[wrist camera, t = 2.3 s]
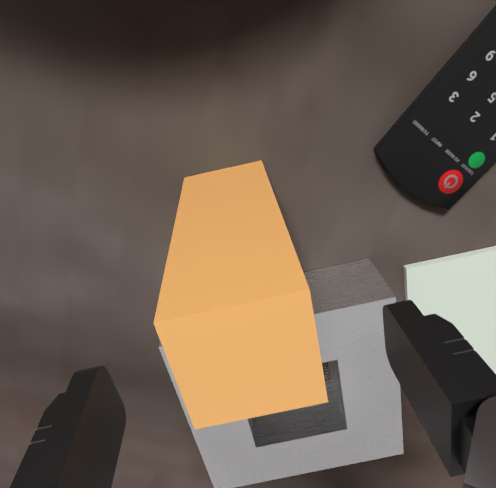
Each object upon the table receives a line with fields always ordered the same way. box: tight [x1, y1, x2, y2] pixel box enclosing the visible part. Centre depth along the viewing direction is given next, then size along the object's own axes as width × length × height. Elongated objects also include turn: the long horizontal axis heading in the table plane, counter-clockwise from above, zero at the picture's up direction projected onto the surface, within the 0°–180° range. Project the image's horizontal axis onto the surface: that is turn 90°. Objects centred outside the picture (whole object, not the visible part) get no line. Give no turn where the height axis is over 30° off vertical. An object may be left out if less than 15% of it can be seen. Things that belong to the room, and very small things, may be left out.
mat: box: [404, 246, 496, 374], centre depth 26 cm, size 10×10×1 cm
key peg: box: [154, 161, 328, 429], centre depth 17 cm, size 4×4×12 cm
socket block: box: [159, 258, 404, 488], centre depth 25 cm, size 12×12×4 cm
